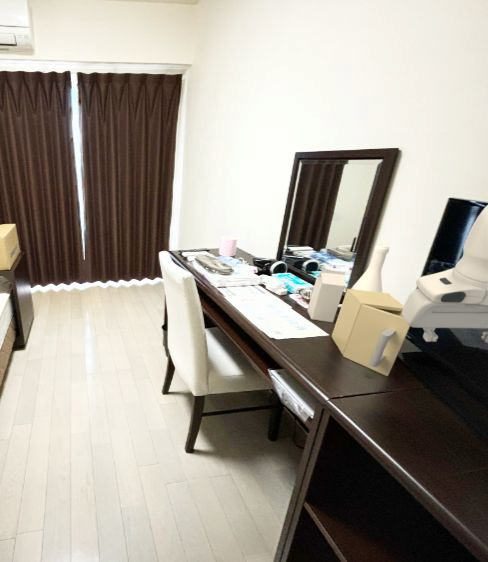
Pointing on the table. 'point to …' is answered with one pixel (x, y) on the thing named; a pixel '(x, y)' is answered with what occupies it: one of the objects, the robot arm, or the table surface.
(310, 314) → the milk carton
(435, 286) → the robot arm
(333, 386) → the table surface
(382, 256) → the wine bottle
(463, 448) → the table surface
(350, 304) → the fridge
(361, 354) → the fridge door
